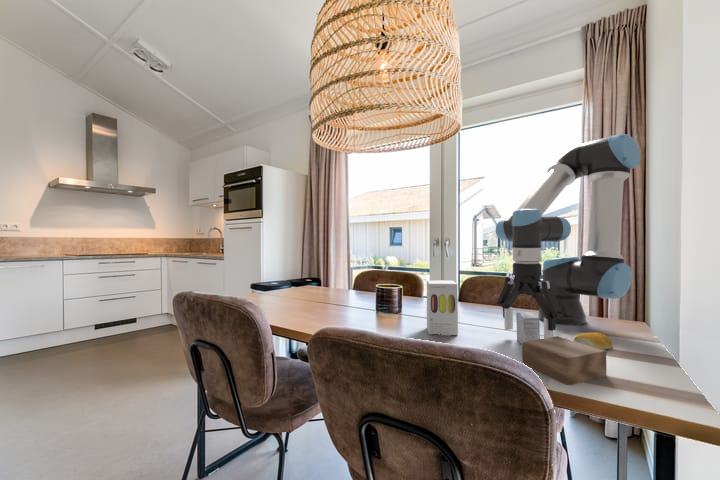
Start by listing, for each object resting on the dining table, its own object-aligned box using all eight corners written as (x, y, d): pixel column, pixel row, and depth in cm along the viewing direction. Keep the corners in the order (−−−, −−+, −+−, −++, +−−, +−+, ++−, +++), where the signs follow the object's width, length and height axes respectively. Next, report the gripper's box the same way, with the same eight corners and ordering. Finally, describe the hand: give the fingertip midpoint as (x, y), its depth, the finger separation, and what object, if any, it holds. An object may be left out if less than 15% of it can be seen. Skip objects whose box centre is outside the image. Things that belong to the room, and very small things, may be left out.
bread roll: (617, 347, 94) (617, 333, 94) (597, 353, 91) (597, 338, 91) (587, 339, 102) (587, 326, 102) (568, 344, 98) (567, 330, 98)
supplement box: (428, 335, 109) (427, 283, 109) (426, 327, 118) (425, 279, 118) (458, 335, 108) (458, 283, 107) (454, 328, 117) (453, 279, 117)
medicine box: (540, 349, 94) (540, 318, 94) (523, 348, 95) (523, 317, 95) (532, 340, 102) (531, 311, 102) (516, 339, 103) (515, 311, 102)
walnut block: (558, 359, 87) (557, 336, 87) (606, 377, 76) (606, 350, 75) (522, 366, 83) (522, 342, 82) (568, 386, 71) (567, 358, 71)
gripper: (485, 260, 108) (485, 326, 108) (558, 266, 85) (559, 349, 85) (502, 259, 111) (503, 323, 111) (577, 264, 88) (578, 345, 88)
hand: (527, 335), depth 98 cm, fingers open, 13 cm apart
